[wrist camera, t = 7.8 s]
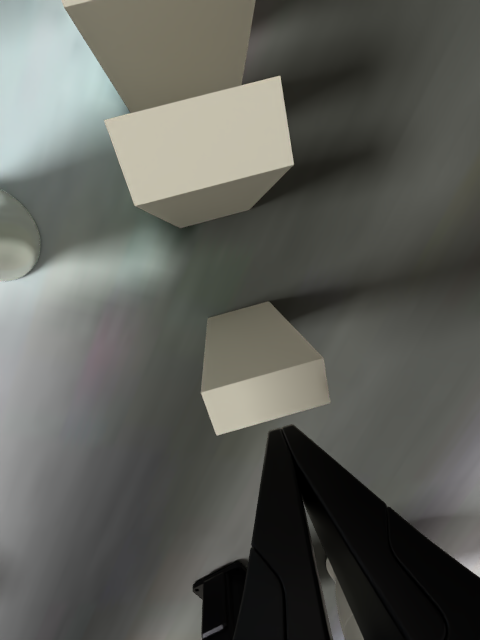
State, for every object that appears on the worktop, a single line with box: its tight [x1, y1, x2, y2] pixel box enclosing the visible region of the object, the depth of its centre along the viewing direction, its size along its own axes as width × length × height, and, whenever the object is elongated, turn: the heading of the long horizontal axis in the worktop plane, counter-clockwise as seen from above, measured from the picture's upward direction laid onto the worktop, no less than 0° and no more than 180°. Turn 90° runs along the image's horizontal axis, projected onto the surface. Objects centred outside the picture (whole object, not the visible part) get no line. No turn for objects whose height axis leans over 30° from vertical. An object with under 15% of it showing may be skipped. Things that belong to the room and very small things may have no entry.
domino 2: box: [104, 76, 294, 228], centre depth 12 cm, size 2×5×10 cm, turn 104°
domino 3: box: [62, 0, 256, 113], centre depth 10 cm, size 2×5×10 cm, turn 104°
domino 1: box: [201, 301, 330, 435], centre depth 14 cm, size 2×5×10 cm, turn 104°
